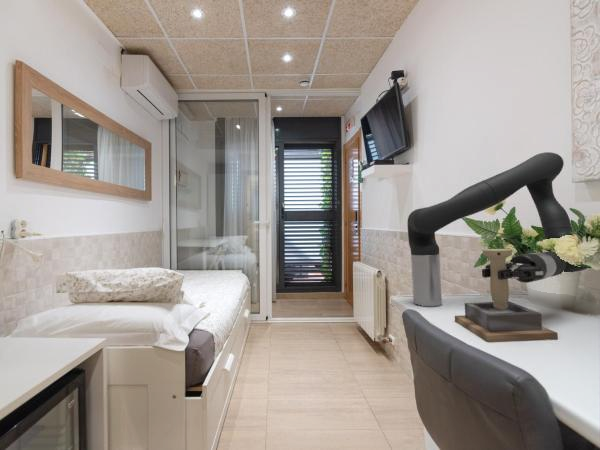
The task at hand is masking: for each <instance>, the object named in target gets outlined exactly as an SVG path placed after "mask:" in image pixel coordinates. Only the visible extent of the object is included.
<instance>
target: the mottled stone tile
mask: <svg viewBox="0 0 600 450" xmlns="http://www.w3.org/2000/svg"><path fill="white" fill-rule="evenodd" d="M484 310H486V311H489V312H491V313H516V311H514V310H511V309H509V308H507V309H498V308H484Z"/></svg>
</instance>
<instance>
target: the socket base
mask: <svg viewBox="0 0 600 450" xmlns="http://www.w3.org/2000/svg"><path fill="white" fill-rule="evenodd" d="M493 302H494V301H483V302H481V301H480V302H464V315H454V322H456V324H459V325H460V326H462V327H463V328H465V329H466V330H468V331H469V332H472V333H473V334H474V335H476V336H477V337H479V338H481V339H482V340H485V342H487V343H495V342H496V343H498V342H499V343H500V342H501V343H502V342H521V341H523V342H525V341H543V340H544V341H548V339H550V340H558V338H559V336H558V332H557V331H555V330H551V329H550V328H548V327H545V326H543V324H542V323H543V320H542V319H543V318H542V313H541V312H540V311H536V310H534V309H531V308H528V307H525V306H523V305H520V304H517V303H514V302H512V301H509V300H508V302H507V304H508V308H509V309H511V310H514V311H516V313H491V312H489V311H486V310H484V308H495V307H494V306H493ZM546 339H547V340H546Z"/></svg>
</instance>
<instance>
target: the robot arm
mask: <svg viewBox="0 0 600 450" xmlns="http://www.w3.org/2000/svg"><path fill="white" fill-rule="evenodd" d="M564 162H565V161H564V159H563V158H562V156H561V155H560V154H558V153H555V152H549V151H548V152H546V151H545V152H541V153H538V154H536V155H534V156H532V157H529V158H528V159H526V160H525V161H523V162H520V163H519V164H517V165H516V166H514V167H511V168H509V169H506V170H504V171H502V172H500V173H498V174H495V175H493V176H491V177H488V178H485V179H483V180H481V181H479V182H476V183H475V184H473V185H469V186H468V187H466V188H463V190H461V191H460V192H458V193H456V194H455V195H454V196H452V197H451V198H448V199H447V200H445V201H442V202H439V203H437V204H433V205H431V206H427V207H422V208H421V207H420V208H417V209H414V210H413V211H411V212H410V214H409V215H408V217H407V235H408V245H409V248H410V261H411V276H412V277H411V279H412V282H411V283H412V298H413V299H412V300H413V301H412V302H414V303H415V304H414V303H413V304H414V305H416V304H418V305H417V306H420V305H421V306H420V307H439V306H441V305H443V302H442V300H443V299H442V297H443V296H442V278H441V275H442V274H441V261H440V260H441V258H440V247H439V244H438V243H437V239H436V232H437V231H439V230H442V229H443V228H445V227H447V226H449V225H450V224H451V223H454V222H456V221H458V220H460V219H462V218H466V217H469V216H472V215H475V214H477V213H480V212H483V211H485V210H487V209H489V208H492V207H494V206H496V205H498V204H500V203H501V202H504V201H505V200H506V199H508V198H509V197H511V196H513V194H515V193H517V192H518V191H519V190H520V189H522V188H525V186H526V188H527V191H528V192H529V194H530V196H531V198H532V201H533V204H534V206H535V209H536V211H537V213H538V217H539V220H540V225H541V228H542V233H543V236H544V239H545V240H546V239H550V238H560V237H562V236H565V235H570V234H569V231H570V230H572V229H573V226H571V225H572V223H571V220H570V217H569V215H568V213H567V211H566V209H565V208H564V206H562V205H561V203H559V201H558V200H557V199H556V197H555V194H554V191H553V181H554V180H555V179H557V177H558V176H559V175H560V173H561V172H562V170H563V169H564V168H563V167H564V164H565V163H564ZM484 266H485V267H484V268H482V269H481V276H482V278H484V279H485V278H490V263H489V264H486V265H484ZM588 268H589V267H578V266H574V265H571V264H569V263H567V262H565V261H564V260H562V259H560V257H559V256H557V254H556V253H555V252H553V251H542V252H531V253H524V254H518V255H514V256H513V257H512V258H511V259H510V260H509V261H506V269H505V270H499V271H498V279H500V280H503V279H511V280H516V281H518V282H520V283H525V284H526V283H532V282H537V281H542V280H545V279H548V278H550V277H551V278H552V277H555V276H559V274H560V275H562V274H561V273H562V272H563V271H564V272H571V273H576V272H581V271H584V270H587V269H588Z"/></svg>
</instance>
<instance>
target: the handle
mask: <svg viewBox="0 0 600 450" xmlns="http://www.w3.org/2000/svg"><path fill="white" fill-rule="evenodd" d="M482 255H483V256H484V257H486V258H488V259H489V264H490V277H489V281H490V282H489V283H490V284H489V287H490V294H491V295H490V296H491V300H492V302H493V306H494V307H495V308H498V309H507V308H508V304H507V302H508V301H509V296H510V294H509V293H510V291H509V290H510V286H509V280H508V279H503V280H500V279H498V271H499V270H505V269H506V262H507V261H506V260H507V258H509V257H510V256H512V255H513V249H511V248H487V249H485V248H484V249H482Z"/></svg>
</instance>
